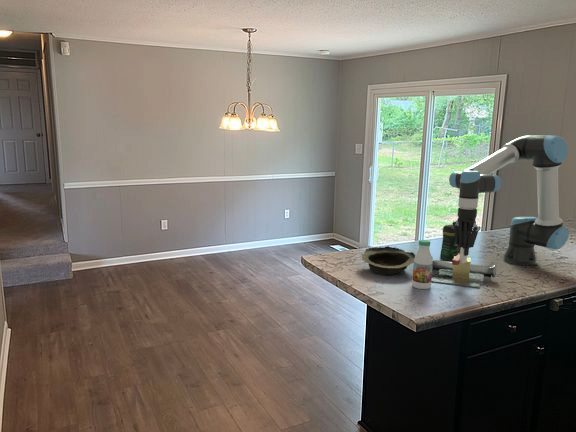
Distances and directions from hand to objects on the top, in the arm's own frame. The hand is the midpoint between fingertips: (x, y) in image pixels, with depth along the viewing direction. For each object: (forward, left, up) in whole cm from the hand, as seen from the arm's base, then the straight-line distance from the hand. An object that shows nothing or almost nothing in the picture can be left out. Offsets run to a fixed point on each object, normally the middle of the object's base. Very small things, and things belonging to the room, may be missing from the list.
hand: (462, 262), depth 199 cm
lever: (+2, -5, -1) cm, 5 cm away
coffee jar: (+6, -38, -10) cm, 40 cm away
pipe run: (+2, -9, -10) cm, 14 cm away
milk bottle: (+15, +10, -10) cm, 21 cm away
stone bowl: (+33, -6, -10) cm, 35 cm away
